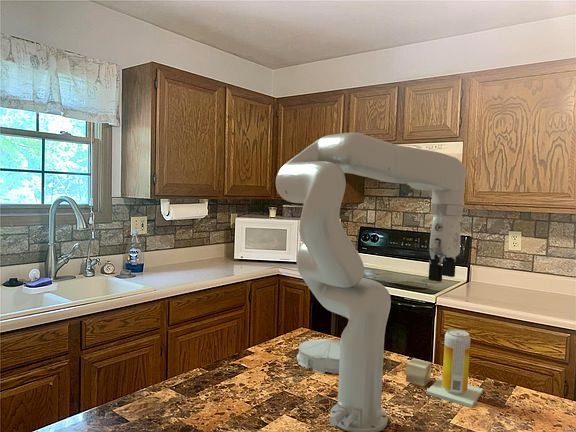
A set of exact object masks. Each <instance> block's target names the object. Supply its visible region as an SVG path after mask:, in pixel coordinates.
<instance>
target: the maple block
mask: <svg viewBox="0 0 576 432" xmlns="http://www.w3.org/2000/svg"><path fill="white" fill-rule="evenodd" d="M431 371H432V362H430V361H427V360H426V361H425V360H422V359H418V358H415V357H413V358H412V359H411V360H409V361H408V362H407V363H406V370H405V382H408V383H411V384H415V385H418V386H421V387H425V386H426V385H428V383H429V382H430V381H431V376H432V375H431V373H432V372H431Z"/></svg>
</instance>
